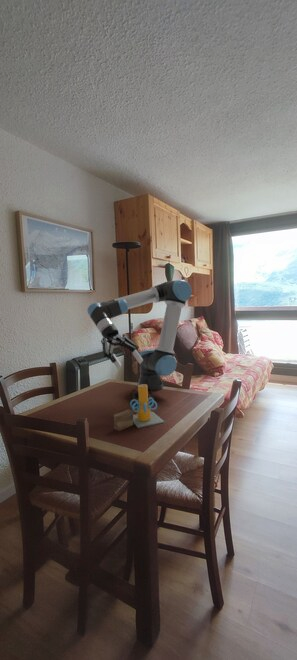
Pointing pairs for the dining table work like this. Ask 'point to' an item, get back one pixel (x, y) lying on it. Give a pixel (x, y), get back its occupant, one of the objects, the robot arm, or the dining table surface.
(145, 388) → the yellow upright looped piece
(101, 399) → the dining table surface
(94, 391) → the dining table surface
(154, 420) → the mat
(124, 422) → the tan block
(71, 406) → the dining table surface
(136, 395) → the pottery mug
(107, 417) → the dining table surface
